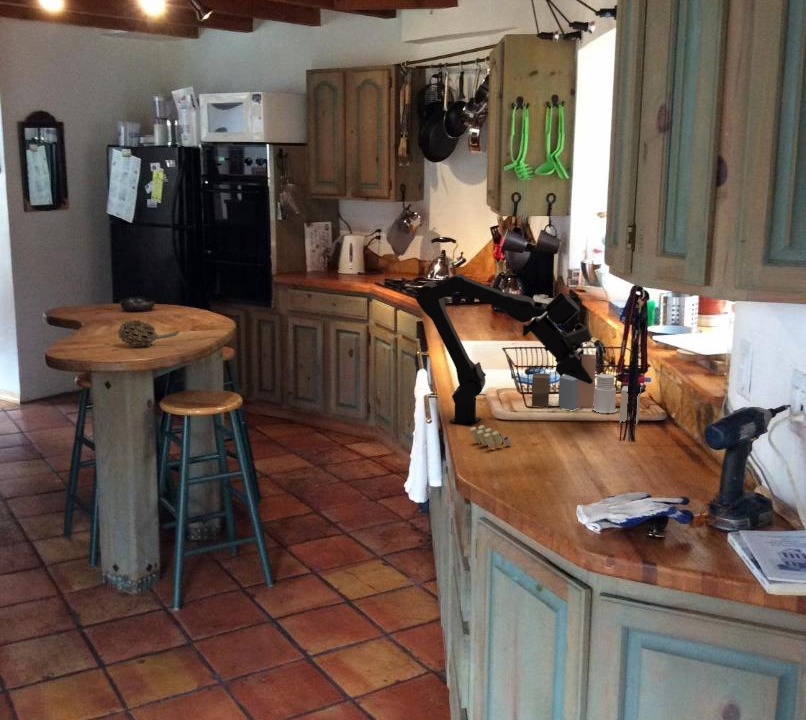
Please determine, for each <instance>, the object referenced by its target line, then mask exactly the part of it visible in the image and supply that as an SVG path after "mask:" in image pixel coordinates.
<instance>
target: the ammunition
mask: <svg viewBox="0 0 806 720" xmlns="http://www.w3.org/2000/svg"><path fill="white" fill-rule="evenodd" d="M477 428H478V429H477ZM469 430H470V433H471V435H472V438H473V440H474V441H475V443H477V442H481V445H482V446H483V445H488V447H489V449H490V448H495V449H496V446H500V445H502V442H504V444H505V445H506V446H507V445H508V446H510V445H511V446H512V442H511V439H510V437H509V436H505V437H504V436H503V434H502V433H499V431H498V430H493V429H492V427H488V428H486V427H485V425H484V424H481V425H479V426H478V427H476V426H472V427H470V428H469ZM508 446H507V447H508ZM511 446H510V447H511Z"/></svg>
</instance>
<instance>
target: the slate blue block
mask: <svg viewBox="0 0 806 720" xmlns="http://www.w3.org/2000/svg"><path fill="white" fill-rule="evenodd" d="M558 382H559V383H558V405H557V406H560V407H562V408H565V409H569V410H574V409H576V408H578V407H577V399H578V379H576V378H574V377H571V376H569V375H566V374H565V375H562V376H559V379H558Z"/></svg>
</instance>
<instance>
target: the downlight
mask: <svg viewBox="0 0 806 720" xmlns="http://www.w3.org/2000/svg"><path fill="white" fill-rule="evenodd" d="M616 395H617V387H615V375H613V374H608V373H607V374H606V373H605V374H604V373H602V374H597V375H596V385H595V387H594V404H593V407H594V409H595V410H596V412H595V413H598V412H599V414H606V413H609V414H612V413H613V414H614V413H617V412H618V408H616V400H617V399H616V397H617V396H616ZM615 408H616V409H615Z"/></svg>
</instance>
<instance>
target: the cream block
mask: <svg viewBox="0 0 806 720" xmlns="http://www.w3.org/2000/svg"><path fill="white" fill-rule="evenodd" d="M628 386H629V385H623V386H622V388H621V390H620V407H619V408H620V409H619V423H620V424H622V423H621V422H622V421H623V422H625V421H626V420H627V402H628V393H627V392H628ZM641 389H642V388H641V387H640V393H639V394H638V396H637V415H636V424H635V425H638V423H639V420H640V407H641V392H642V391H641Z"/></svg>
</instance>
